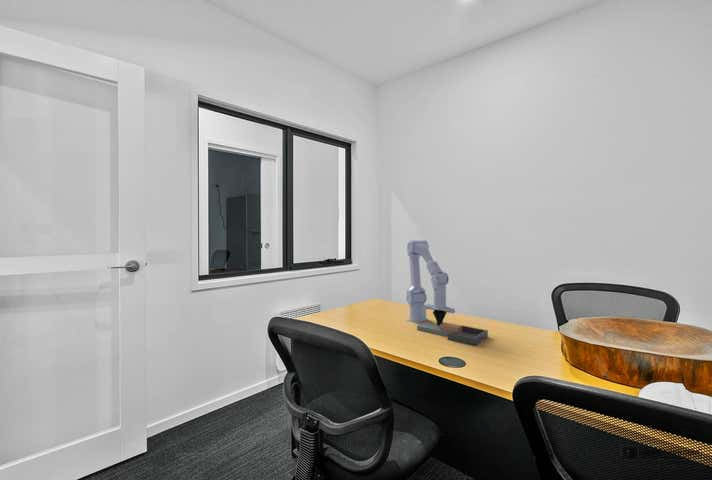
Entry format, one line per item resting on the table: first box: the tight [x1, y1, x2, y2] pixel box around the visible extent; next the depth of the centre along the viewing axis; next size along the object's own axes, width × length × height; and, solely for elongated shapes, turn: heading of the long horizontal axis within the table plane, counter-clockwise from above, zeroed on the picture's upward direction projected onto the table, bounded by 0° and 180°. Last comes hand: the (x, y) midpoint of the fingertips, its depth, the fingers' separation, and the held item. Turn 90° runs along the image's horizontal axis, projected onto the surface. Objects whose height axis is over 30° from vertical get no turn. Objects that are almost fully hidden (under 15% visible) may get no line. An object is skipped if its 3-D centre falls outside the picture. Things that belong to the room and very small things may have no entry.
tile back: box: [440, 321, 452, 331], centre depth 157 cm, size 4×4×2 cm
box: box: [447, 325, 489, 346], centre depth 150 cm, size 15×12×3 cm
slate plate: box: [416, 321, 456, 338], centre depth 160 cm, size 8×18×2 cm, turn 49°
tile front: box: [449, 323, 462, 333], centre depth 154 cm, size 4×4×2 cm
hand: (439, 325), depth 159 cm, fingers closed
